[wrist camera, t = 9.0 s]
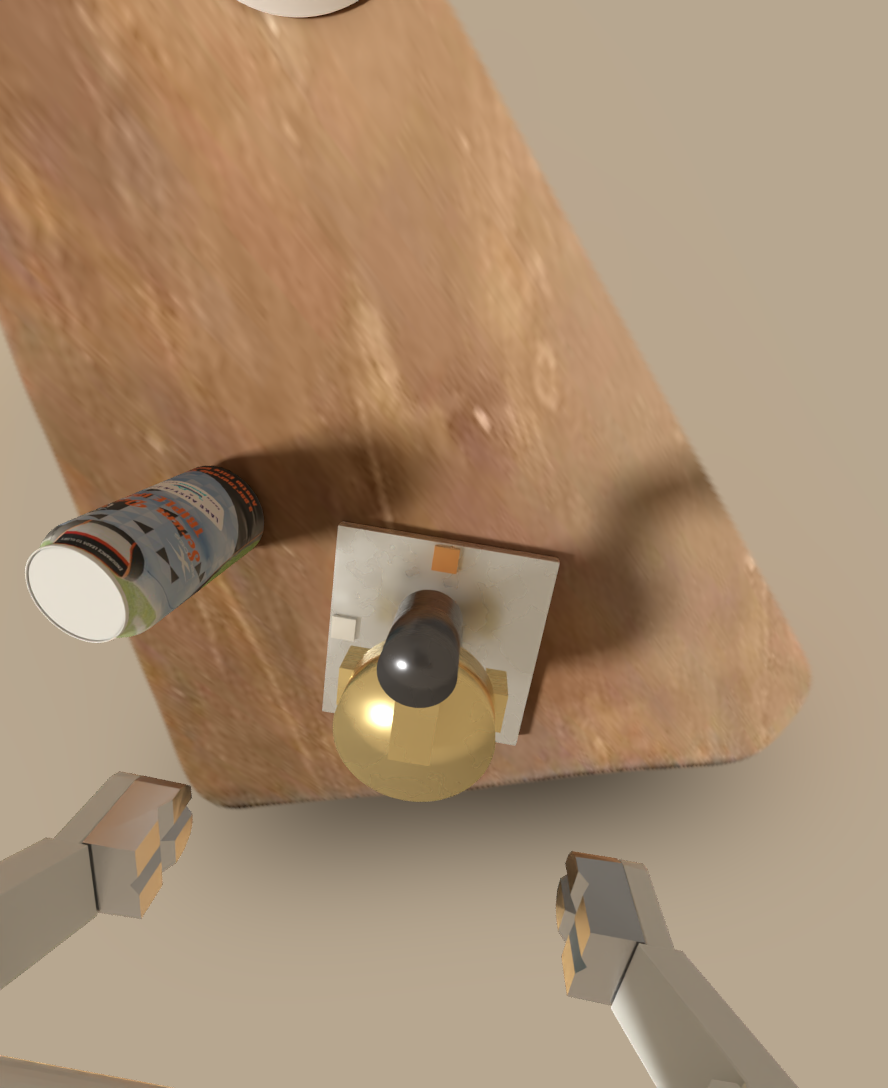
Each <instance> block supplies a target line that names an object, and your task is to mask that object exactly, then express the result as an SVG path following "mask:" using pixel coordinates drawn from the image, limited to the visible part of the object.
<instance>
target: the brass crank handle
mask: <svg viewBox="0 0 888 1088" xmlns="http://www.w3.org/2000/svg"><path fill="white" fill-rule="evenodd" d="M462 623H463V619H462V613H461V610H460V608H459V606H458V605H457V603H456V601H454V600H453V599H452V598H451V597H449V596H448V595H446V594H444V593H442V592H440V591H436V590H420V591H416V592H414V593H412V594H410V595H408V596H407V597H406V598H405V599H404V600H403V601H402V602H401V604H400V606H399V608H398V610H397V613H396V615H395V618H394V621H393V623H392V626H391V628H390V631H389V634H388V636H387V639H386V640H385V641H382V642H381V643H379V644H377V645H375V646H374V647H373V648H371V649H370V648H364V647H358V646H352V645H351V646H350V648H349V650H348V652H347V654H346V656H345V657H344V659H343V661H342V663H341V665H340V667H339V677H338V688H337V700H336V705H337V708H336V711H335V714H334V719H333V736H334V742H335V745H336V748H337V751H338V753H339V755H340V757H341V759H342V761H343V762H344V764H345V765H346V767H347V768H348V769H349V770H350V771H351V773H352V774H353V775H355V776H356V777H357V778H358V779H359V780H360V781H361V782H363V783H364V784H365V785H367V786H368V787H370V788H372V789H373V790H375V791H377V792H379V793H382V794H384V795H387V796H389V797H392V798H396V799H400V800H406V801H414V802H426V801H436V800H441V799H445V798H448V797H451V796H454V795H456V794H458V793H461V792H463V791H464V790H466V789H467V788H469V787H470V786H472V785H473V784H474V783H475V782H477V781H478V779H479V778H480V777H481V776H482V775H483V774H484V772H485V771H486V769H487V768H488V766H489V764H490V762H491V760H492V757H493V754H494V750H495V742H496V740H495V732H498V733H501V728H502V723H503V719H504V714H505V709H506V705H507V700H508V685H507V672H506V671H501V670H495V669H489V668H486V670H485V669H484V668H483V666H482V665H481V663H480V662H479V661H478V660H477V659H476V658H475V657H474V656H473V655H472V654H471V653H469V652H468V651H467V650H466V649H464V648H463V647H461V646H460V645H461V634H462Z"/></svg>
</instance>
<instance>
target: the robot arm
mask: <svg viewBox="0 0 888 1088" xmlns="http://www.w3.org/2000/svg"><path fill="white" fill-rule="evenodd" d="M238 1H239V2H241V3H243V4H245V5H247V6H249V7H251V8H254V9H257V10H259V11H262V12H265V13H269V14H273V15H278V16H284V17H312V16H318V15H324V14H328V13H331V12H334V11H337V10H340V9H342V8H345V7H347V6H349V5H351V4H353V3H355V2H357V1H358V0H238ZM191 798H192V794H191V786H189V785H186V784H181V783H176V782H171V781H166V780H162V779H157V778H152V777H147V776H141V775H136V774H131V773H125V772H120V771H119V772H118V773H116V774H114V775H112V776H111V777H110V778H109V779H108V780H107V781H106V782H105V783H104V784H103V786H101V787H100V789H99V790H98V791H97V792H96V793H95V794H94V795H93V796H92V797H91V798H90V799H89V801H88V802H87V803H86V804H85V805H84V806H83V807H82V808H81V809H80V811H78V812H77V814H76V815H75V816H74V817H73V818H72V819H71V820H70V821H69V822H68V823H67V825H66V826H65V827H64V828H63V829H62V830H61V831H60V832H59V833H58V834H57V835H56V836H55V837H54V839H52V838H44V839H42V840H41V841H39V842H37V843H35V844H33V845H31V846H29V847H27V848H25V849H23V850H22V851H19V852H17V853H15V854H13V855H11V856H10V857H8V858H6V859H4V860H2V861H0V990H1V989H3V988H4V987H5V986H6V985H8V984H9V983H10V982H12V981H13V980H14V979H16V978H17V977H18V976H19V975H21V974H22V973H23V972H25V971H26V970H27V969H29V968H30V967H31V966H32V965H34V964H35V963H36V962H38V961H39V960H40V959H42V958H43V957H44V956H45V955H47V954H48V953H49V952H51V951H52V950H53V949H55V947H57V946H58V945H60V944H61V943H62V942H64V941H65V940H66V939H68V938H69V937H70V936H71V935H73V934H74V933H75V932H77V931H78V930H79V929H81V928H82V927H83V926H84V925H86V924H87V923H88V922H90V921H91V920H92V919H94V918H95V917H96V916H97V913H104V914H111V915H118V916H124V917H131V918H138V919H142V917H143V915H144V914H145V912H146V910H147V909H148V907H149V906H150V904H151V903H152V901H153V899H154V898H155V896H156V895H157V893H158V891H159V890H160V888H161V887H162V885H163V883H162V872H163V871H165V870H167V869H168V868H170V867H171V866H173V865H174V864H176V862H177V861H178V859H179V857H180V856H181V854H182V852H183V851H184V849H185V846H186V844H187V841H188V839H189V836H190V834H191V829H192V823H193V815H192V813H191V811H190V810H189V809H188V807H187V804H188V803H189V801H190V800H191ZM565 864H566V870H567V875H565V876H563V877H562V878H560V882H559V885H558V889H557V896H556V920H557V928H558V932H559V934H560V935H561V937H562V938H563V939H564V941H565V942H566V944H565V947H564V950H563V953H562V956H561V958H562V965H563V971H564V979H565V986H566V993H567V996H569V997H574V998H579V999H583V1000H588V1001H593V1002H597V1003H602V1004H607V1005H611V1006H612V1007H611V1010H612V1011H613V1013H614V1015H615V1016H616V1018H617V1020H618V1021H619V1023H620V1025H621V1027H622V1028H623V1030H624V1032H625V1034H626V1035H627V1037H628V1039H629V1041H630V1042H631V1044H632V1046H633V1047H634V1049H635V1051H636V1053H637V1054H638V1056H639V1058H640V1060H641V1061H642V1063H643V1065H644V1066H645V1068H646V1070H647V1071H648V1073H649V1075H650V1077H651V1078H652V1080H653V1082H654V1084H655V1085H656V1087H657V1088H798V1086H797V1085H796V1084H795V1083H794V1082H793V1081H792V1079H791V1078H790V1077H789V1076H788V1075H787V1074H786V1072H785V1071H784V1070H783V1069H782V1068H781V1066H780V1065H779V1064H778V1063H777V1062H776V1061H775V1059H774V1058H773V1057H772V1056H771V1055H770V1054H769V1052H768V1051H767V1050H766V1049H765V1048H764V1046H763V1045H762V1044H761V1043H760V1042H759V1041H758V1039H757V1038H756V1037H755V1036H754V1035H753V1034H752V1033H751V1031H750V1030H749V1029H748V1028H747V1027H746V1025H745V1024H744V1023H743V1022H742V1021H741V1019H740V1018H739V1017H738V1016H737V1015H736V1014H735V1012H734V1011H733V1010H732V1009H731V1008H730V1007H729V1006H728V1004H727V1003H726V1002H725V1001H724V999H722V997H721V996H720V995H719V994H718V992H717V991H716V990H715V989H714V988H713V987H712V985H711V984H710V983H709V982H708V981H707V979H706V978H705V977H704V976H703V975H702V974H701V972H700V971H699V970H698V969H697V968H696V967H695V965H694V964H693V963H692V962H691V961H690V959H689V958H688V957H687V956H686V955H685V954H684V953H683V951H679V950H675V949H674V946H673V943H672V940H671V937H670V934H669V931H668V928H667V925H666V922H665V919H664V916H663V913H662V910H661V908H660V905H659V902H658V899H657V896H656V893H655V890H654V887H653V884H652V881H651V878H650V875H649V872H648V869H647V868H646V866H645V865H644V864H643V863H637V862H631V861H625V860H618V859H616V858H611V857H605V856H598V855H591V854H586V853H579V852H573V851H571V852H570V853H569V855H568V857H567V860H566V863H565ZM0 1088H173V1087H168V1086H162V1085H157V1084H152V1083H146V1082H141V1081H135V1080H130V1079H125V1078H119V1077H114V1076H109V1075H104V1074H98V1073H93V1072H87V1071H82V1070H76V1069H72V1068H66V1067H61V1066H55V1065H50V1064H44V1063H39V1062H34V1061H29V1060H23V1059H17V1058H13V1057H7V1056H2V1055H0Z"/></svg>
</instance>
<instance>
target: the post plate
mask: <svg viewBox="0 0 888 1088" xmlns="http://www.w3.org/2000/svg"><path fill="white" fill-rule="evenodd" d="M559 564H560V562H559V559H558V557H552V556H546V555H540V554H534V553H529V552H523V551H517V550H511V549H505V548H499V547H493V546H487V545H481V544H475V543H469V542H463V541H457V540H451V539H445V538H439V537H433V536H428V535H422V534H416V533H410V532H404V531H398V530H392V529H386V528H380V527H374V526H368V525H362V524H356V523H350V522H344V521H342V522H341V523H340V524H339V525H338V533H337V545H336V557H335V568H334V580H333V592H332V603H331V615H330V627H329V638H328V650H327V662H326V673H325V685H324V697H323V708H322V711H326V712H331V713H335V711H336V708H337V705H336V700H337V688H338V677H339V667H340V665H341V663H342V661H343V659H344V657H345V656H346V654H347V652H348V650H349V648H350V646H351V645H352V646H358V647H364V648H370V649H371V648H373V647H374V646H375V645H377V644H379V643H381V642H382V641H385V640H386V639H387V636H388V634H389V631H390V628H391V626H392V623H393V621H394V618H395V615H396V613H397V610H398V608H399V606H400V604H401V602H402V601H403V600H404V599H405V598H406V597H407V596H408V595H410V594H412V593H414V592H416V591H420V590H436V591H440V592H442V593H444V594H446V595H448V596H449V597H451V598H452V599H453V600H454V601H456V603H457V605H458V606H459V608H460V610H461V613H462V619H463V623H462V634H461V645H460V646H461V647H463V648H464V649H466V650H467V651H468V652H469V653H471V654H472V655H473V656H474V657H475V658H476V659H477V660H478V661H479V662H480V663H481V665H482V666H483V668H484V669H485V670H486V668H489V669H495V670H501V671H506V672H507V685H508V700H507V705H506V709H505V714H504V719H503V723H502V728H501V733H498V732H495V740H496V742H498V743H504V744H510V745H515V746H516V742H517V738H518V734H519V730H520V726H521V722H522V718H523V713H524V709H525V705H526V701H527V697H528V693H529V689H530V684H531V680H532V676H533V672H534V668H535V664H536V660H537V655H538V651H539V647H540V643H541V639H542V635H543V631H544V626H545V622H546V618H547V614H548V610H549V606H550V602H551V597H552V593H553V589H554V585H555V581H556V577H557V573H558V569H559Z"/></svg>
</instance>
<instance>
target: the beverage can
mask: <svg viewBox="0 0 888 1088" xmlns="http://www.w3.org/2000/svg"><path fill="white" fill-rule="evenodd" d="M263 529H264V515H263V510H262V507H261V504H260V502H259V500H258V498H257V496H256V494H255V493H254V492H253V490H252V489H251V487H250V486H249V485H248V484H247V483H246V482H245V481H244V480H242V479H241V478H240V477H239V476H237V475H236V474H234V473H232V472H230V471H228V470H226V469H223V468H220V467H215V466H202V467H197V468H195V469H192V470H190V471H187V472H185V473H183V474H180V475H178V476H175V477H173V478H171V479H168V480H166V481H163V482H161V483H159V484H156V485H154V486H151V487H149V488H146V489H144V490H142V491H139V492H137V493H134V494H132V495H130V496H127V497H125V498H122V499H120V500H118V501H115V502H113V503H110V504H108V505H106V506H103V507H101V508H98V509H96V510H94V511H91V512H89V513H86V514H84V515H82V516H79V517H77V518H74V519H72V520H70V521H67V522H65V523H62V524H60V525H58V526H57V527H56V528H54V529H53V530H52V531H50V532H49V533H48V535H47V536H46V537H45V539H44V540H43V542H42V543H41V546H40V548H39V549H37V550H36V551H35V552H33V553H32V554H31V556H30V557H29V558H28V561H27V563H26V567H25V580H26V584H27V588H28V591H29V593H30V595H31V598H32V599H33V601H34V603H35V604H36V606H37V607H38V608H39V610H40V611H41V612H42V614H43V615H44V616H45V617H46V618H47V619H48V620H49V621H50V622H51V623H52V624H54V625H55V626H56V627H57V628H59V629H60V630H62V631H63V632H65V633H67V634H69V635H70V636H72V637H75V638H77V639H80V640H83V641H87V642H93V643H102V642H107V641H111V640H113V639H115V638H122V637H130V636H134V635H137V634H140V633H142V632H144V631H146V630H148V629H149V628H151V627H152V626H153V625H155V624H156V623H157V622H159V621H160V620H161V619H162V618H164V617H165V616H166V615H168V614H169V613H170V612H172V611H173V610H174V609H175V608H177V607H178V606H179V605H181V604H182V603H183V602H184V601H186V600H187V599H188V598H190V597H191V596H192V595H194V594H195V593H196V592H197V591H199V590H200V589H201V588H203V587H204V586H205V585H206V584H208V583H209V582H210V581H212V580H213V579H214V578H216V577H217V576H218V575H219V574H221V573H222V572H223V571H225V570H226V569H227V568H229V567H230V566H231V565H232V564H234V563H235V562H236V561H238V560H239V559H240V558H241V557H243V556H244V555H245V554H247V553H248V552H249V551H251V550H252V549H253V548H254V547H255V546H256V545H257V544H258V542H259V541H260V539H261V536H262V534H263Z"/></svg>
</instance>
